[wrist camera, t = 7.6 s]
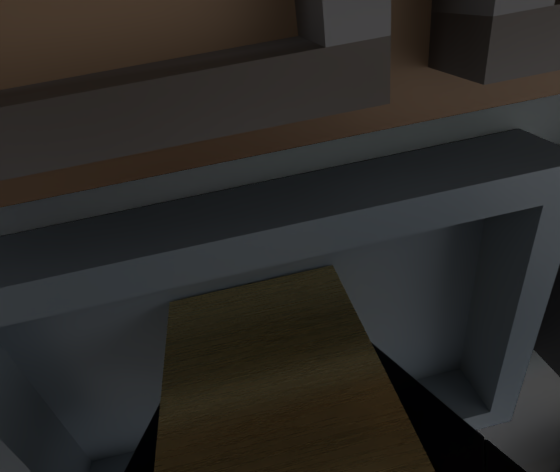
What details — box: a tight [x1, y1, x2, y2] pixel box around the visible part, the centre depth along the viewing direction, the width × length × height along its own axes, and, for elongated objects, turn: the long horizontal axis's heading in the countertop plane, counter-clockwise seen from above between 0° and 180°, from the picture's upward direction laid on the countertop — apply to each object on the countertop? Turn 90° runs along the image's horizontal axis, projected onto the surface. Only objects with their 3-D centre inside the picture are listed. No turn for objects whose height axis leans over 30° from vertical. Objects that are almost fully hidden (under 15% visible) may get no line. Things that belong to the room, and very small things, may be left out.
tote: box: [0, 129, 560, 472], centre depth 10 cm, size 9×14×2 cm, turn 99°
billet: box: [154, 265, 435, 472], centre depth 8 cm, size 4×4×6 cm
